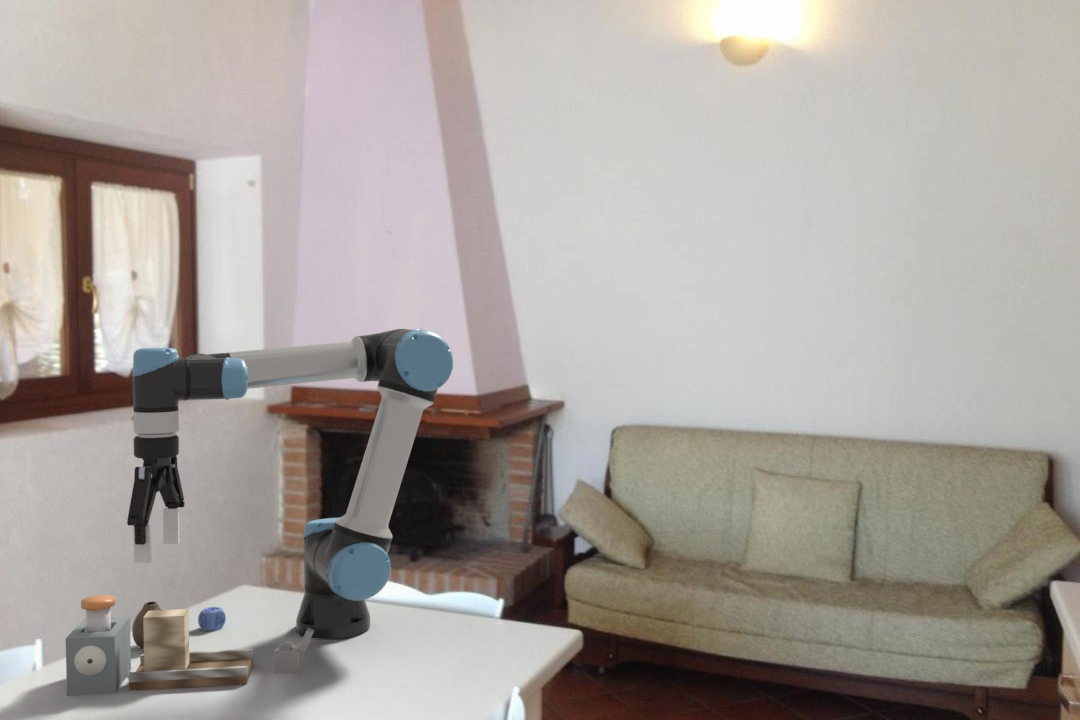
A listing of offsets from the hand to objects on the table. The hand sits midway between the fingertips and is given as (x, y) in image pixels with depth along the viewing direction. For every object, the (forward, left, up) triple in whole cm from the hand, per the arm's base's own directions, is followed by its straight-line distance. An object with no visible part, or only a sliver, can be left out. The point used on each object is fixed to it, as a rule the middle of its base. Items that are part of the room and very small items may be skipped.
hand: (157, 552), depth 179 cm
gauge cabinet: (+10, 0, -23) cm, 25 cm away
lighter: (-24, 0, -23) cm, 33 cm away
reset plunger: (+10, 0, -16) cm, 19 cm away
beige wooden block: (-1, 0, -21) cm, 21 cm away
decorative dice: (-5, -28, -23) cm, 37 cm away
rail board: (-6, 0, -23) cm, 24 cm away
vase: (+5, -18, -23) cm, 30 cm away
